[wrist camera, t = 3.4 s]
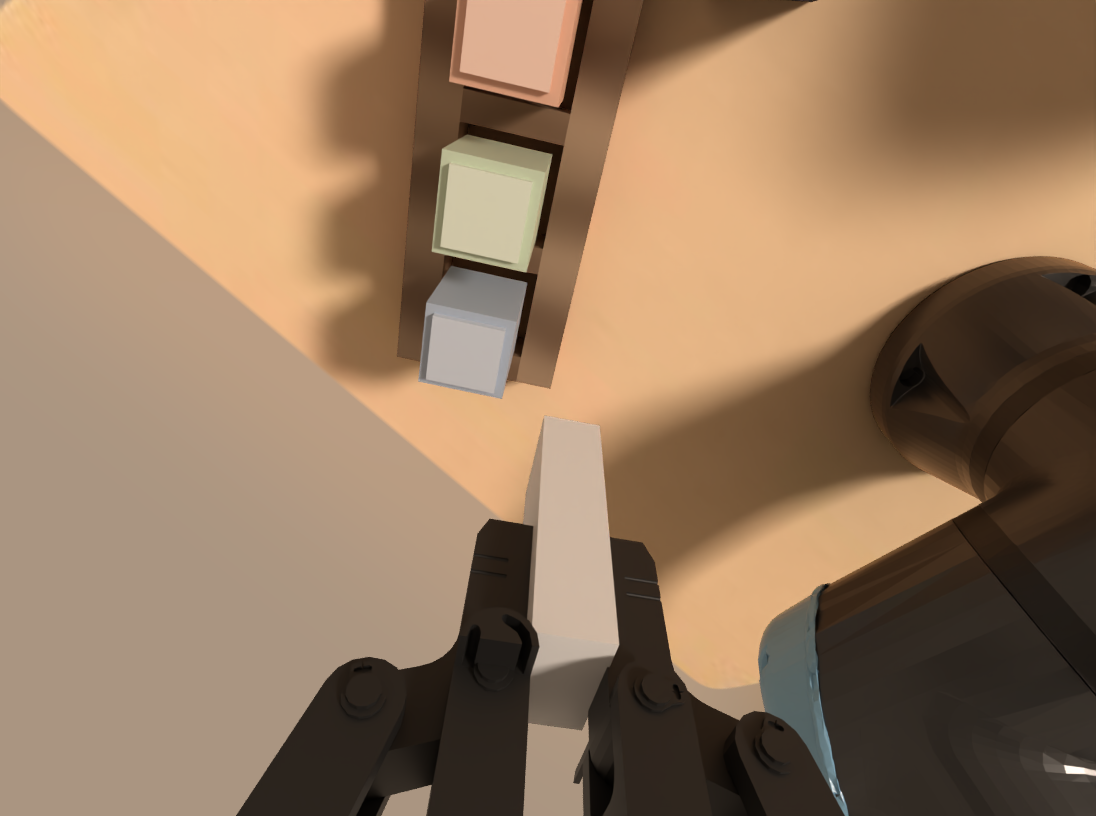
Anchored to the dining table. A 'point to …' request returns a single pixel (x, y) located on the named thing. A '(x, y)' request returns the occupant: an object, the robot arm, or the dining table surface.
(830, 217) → the dining table surface
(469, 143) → the sage button
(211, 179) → the dining table surface
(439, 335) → the slate button
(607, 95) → the wooden tray
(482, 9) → the salmon pink block
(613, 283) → the dining table surface
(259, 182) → the dining table surface
